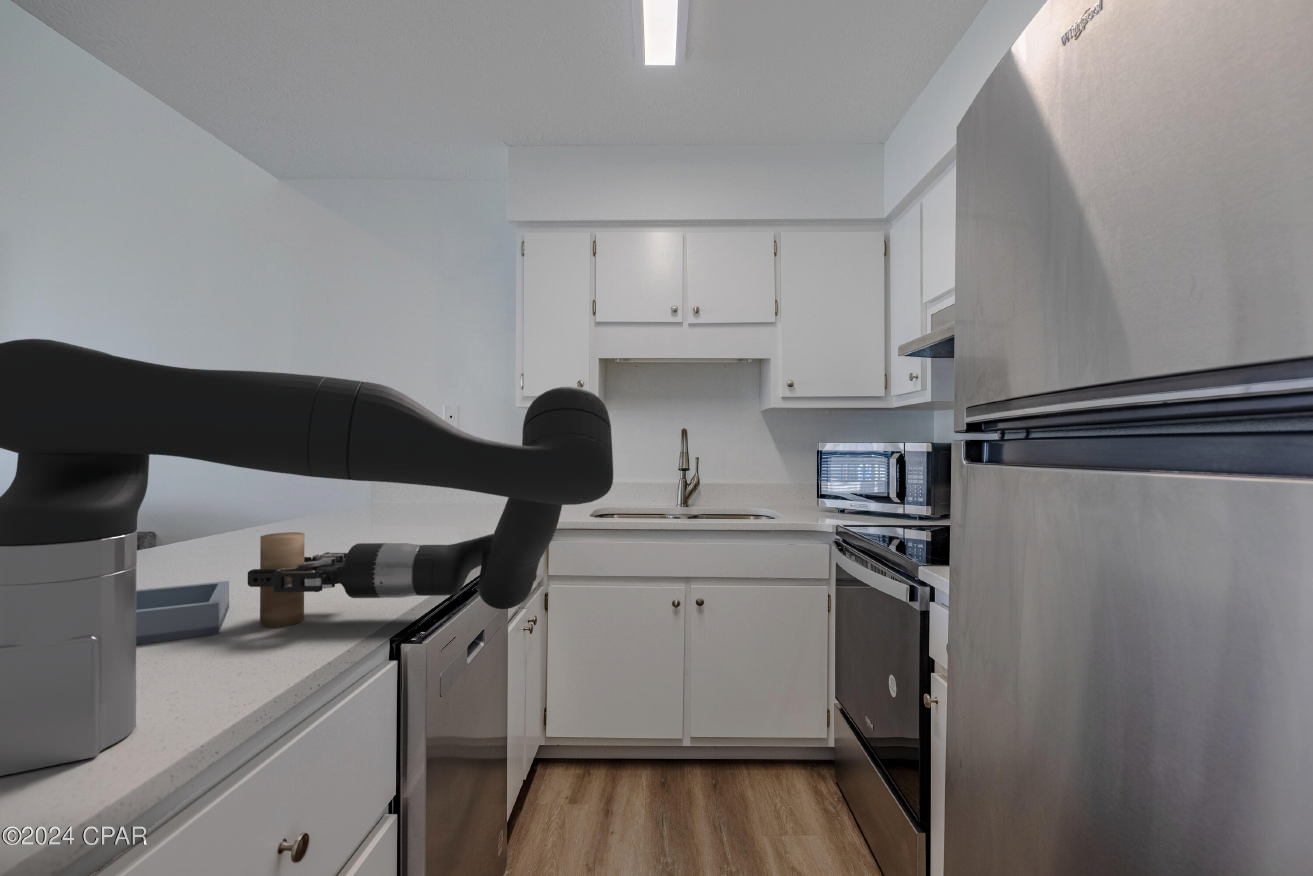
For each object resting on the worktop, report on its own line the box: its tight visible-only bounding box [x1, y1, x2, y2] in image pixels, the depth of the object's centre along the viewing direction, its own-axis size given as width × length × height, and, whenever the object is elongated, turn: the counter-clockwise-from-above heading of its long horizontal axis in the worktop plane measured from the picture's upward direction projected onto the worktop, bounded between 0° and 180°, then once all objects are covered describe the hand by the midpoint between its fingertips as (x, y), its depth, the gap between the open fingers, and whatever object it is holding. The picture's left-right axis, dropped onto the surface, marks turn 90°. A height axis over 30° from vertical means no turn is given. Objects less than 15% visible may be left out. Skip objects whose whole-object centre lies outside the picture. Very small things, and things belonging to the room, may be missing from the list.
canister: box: [259, 531, 305, 628], centre depth 84 cm, size 5×5×12 cm
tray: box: [136, 580, 230, 646], centre depth 81 cm, size 14×14×4 cm
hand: (267, 571), depth 84 cm, fingers open, 7 cm apart
